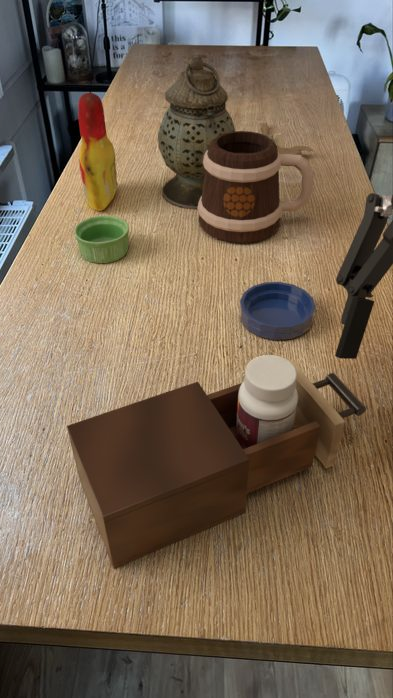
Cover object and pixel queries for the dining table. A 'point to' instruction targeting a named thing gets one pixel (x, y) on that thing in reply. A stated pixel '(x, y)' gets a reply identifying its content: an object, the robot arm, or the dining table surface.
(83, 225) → the ramekin
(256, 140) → the mug
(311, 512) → the dining table surface
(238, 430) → the pill bottle
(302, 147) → the jawbone
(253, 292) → the bowl
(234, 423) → the drawer
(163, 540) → the cabinet
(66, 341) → the dining table surface
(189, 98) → the lantern
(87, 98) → the bottle
